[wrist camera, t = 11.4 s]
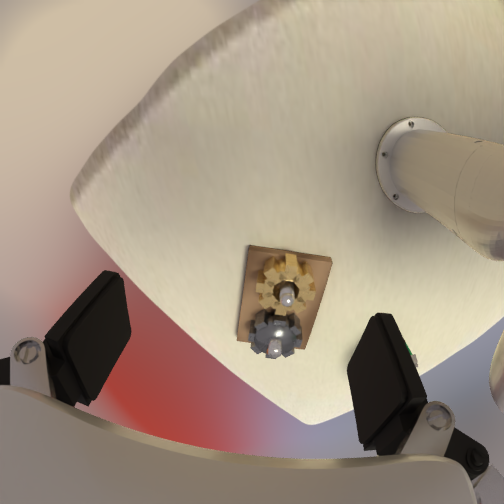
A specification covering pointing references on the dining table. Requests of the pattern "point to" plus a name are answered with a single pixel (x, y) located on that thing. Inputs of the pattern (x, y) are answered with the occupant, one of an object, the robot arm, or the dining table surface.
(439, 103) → the dining table surface
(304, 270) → the wooden gear
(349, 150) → the dining table surface
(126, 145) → the dining table surface
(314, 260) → the gear board
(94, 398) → the robot arm
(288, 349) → the gear
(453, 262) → the dining table surface
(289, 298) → the peg
